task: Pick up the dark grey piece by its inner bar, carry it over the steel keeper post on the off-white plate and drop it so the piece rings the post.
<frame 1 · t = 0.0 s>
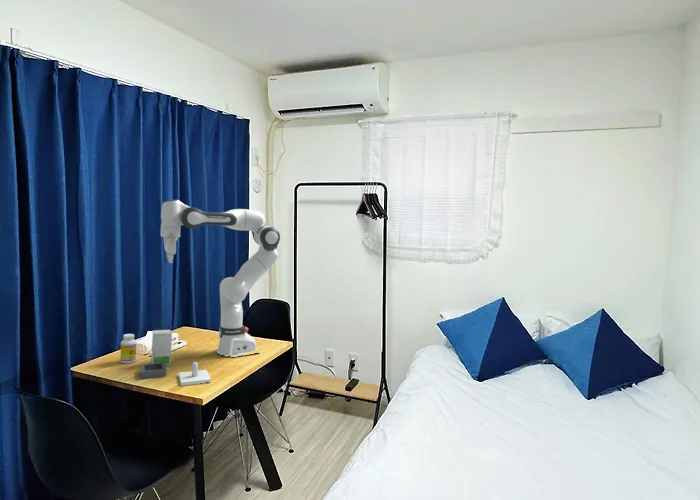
hand: (169, 261, 213), 48 cm above the table, tool pointing down, fingers open, 8 cm apart
dark grey piece: (153, 373, 195), on the table
keeper: (194, 379, 192), on the table
skincare box: (161, 363, 209), on the table
supplement bottle: (128, 361, 209), on the table
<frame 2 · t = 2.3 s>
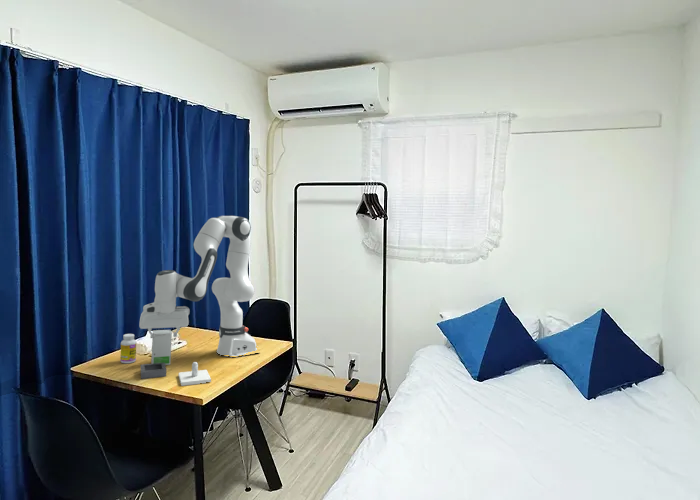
hand: (163, 337, 196), 16 cm above the table, tool pointing down, fingers open, 8 cm apart
nothing on the table moved.
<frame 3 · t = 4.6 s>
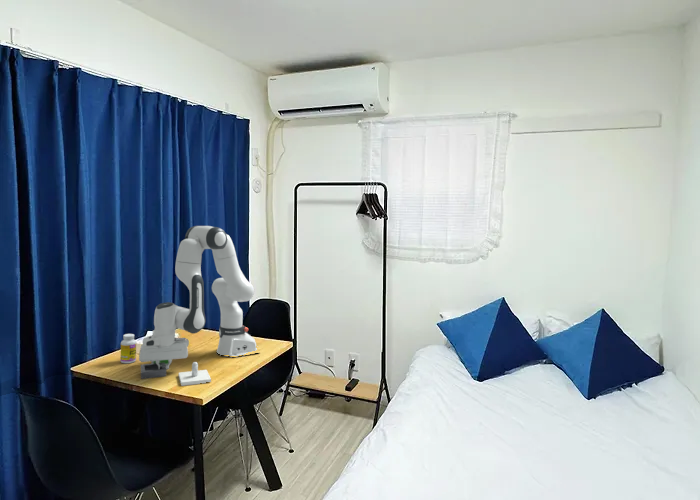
hand: (163, 369, 197), 2 cm above the table, tool pointing down, fingers closed on dark grey piece
dark grey piece: (153, 373, 195), on the table, touching gripper
everything else where it was.
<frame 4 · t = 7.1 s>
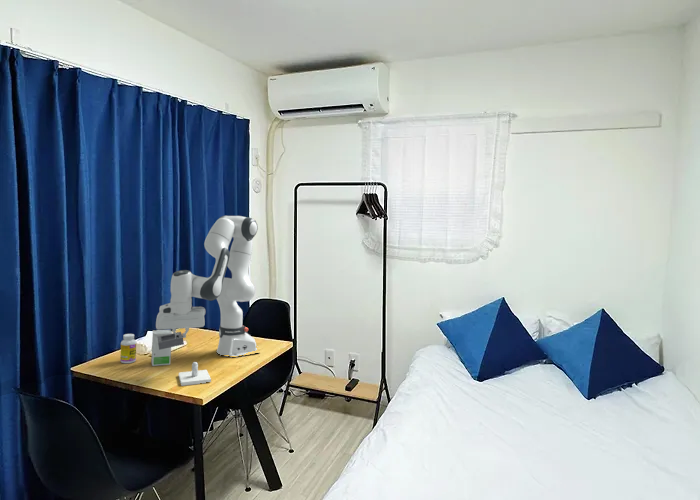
hand: (180, 337, 195), 17 cm above the table, tool pointing down, fingers closed on dark grey piece
dark grey piece: (170, 343, 193), point 14 cm above the table, tilted 9°, touching gripper
everything else where it was.
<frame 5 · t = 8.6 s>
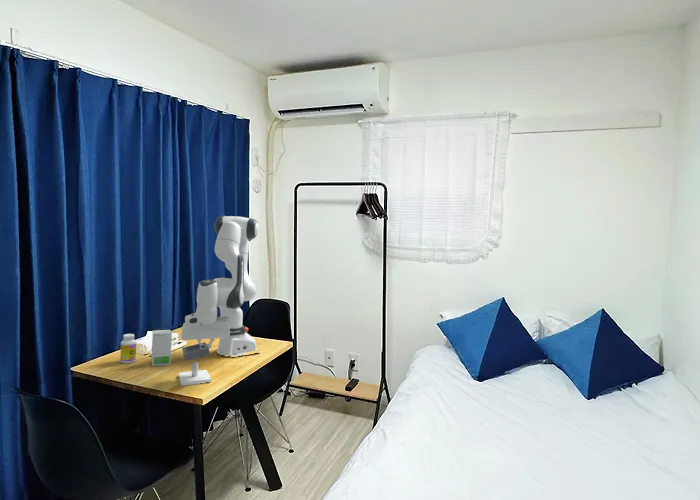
hand: (205, 348, 193), 14 cm above the table, tool pointing down, fingers closed on dark grey piece
dark grey piece: (196, 354, 191), point 11 cm above the table, tilted 10°, touching gripper
everything else where it was.
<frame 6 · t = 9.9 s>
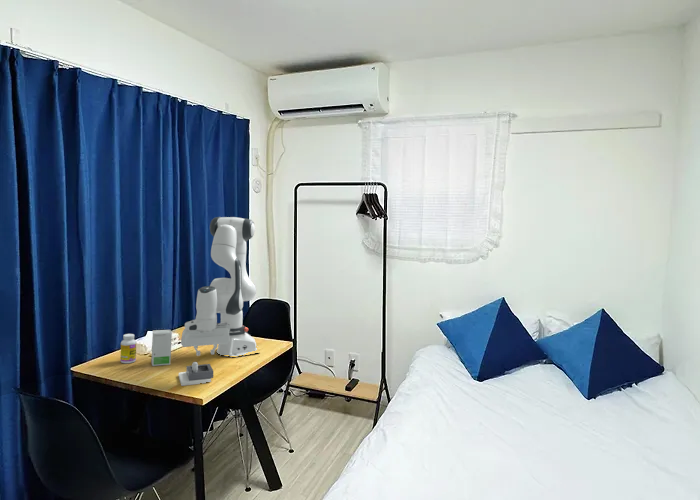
hand: (205, 354, 193), 11 cm above the table, tool pointing down, fingers open, 5 cm apart
dark grey piece: (199, 375, 193), point 1 cm above the table, touching keeper
everything else where it was.
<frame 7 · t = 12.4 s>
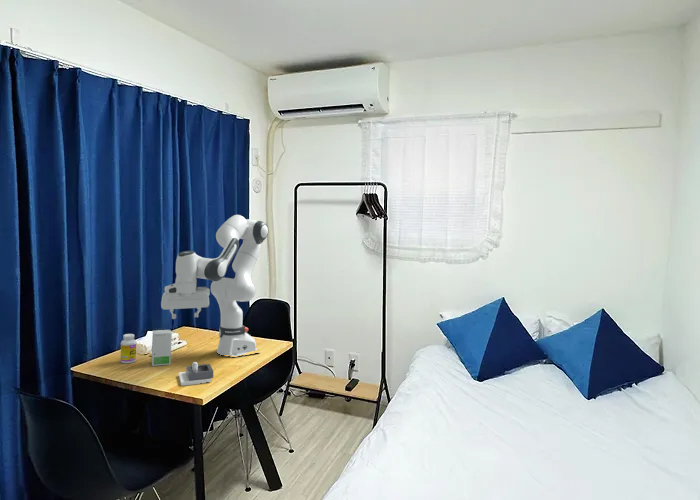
hand: (185, 317, 197), 25 cm above the table, tool pointing down, fingers open, 8 cm apart
nothing on the table moved.
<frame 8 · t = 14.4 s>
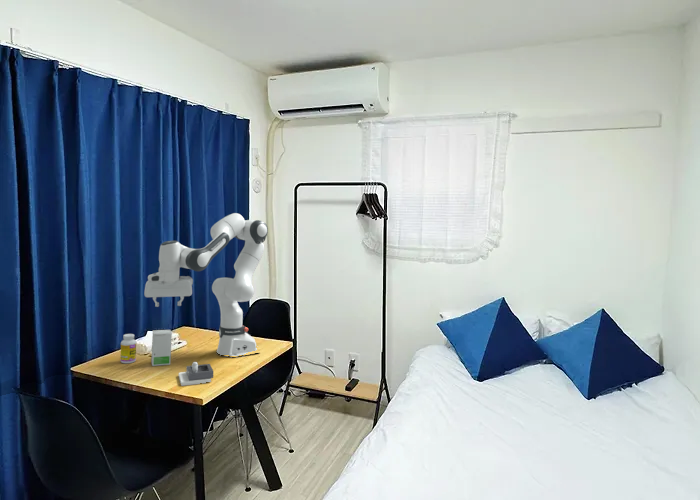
hand: (168, 306, 201), 29 cm above the table, tool pointing down, fingers open, 8 cm apart
nothing on the table moved.
at the end: dark grey piece 2.1 cm from the keeper (horizontally); dark grey piece point 1.5 cm above the table; the gripper is holding nothing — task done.
